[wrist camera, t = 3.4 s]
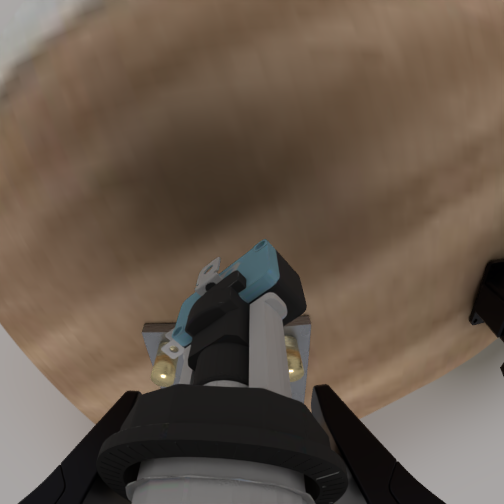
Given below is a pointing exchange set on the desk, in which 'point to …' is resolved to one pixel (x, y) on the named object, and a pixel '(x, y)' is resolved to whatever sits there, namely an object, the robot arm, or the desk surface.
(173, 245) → the desk surface
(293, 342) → the chassis
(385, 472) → the robot arm
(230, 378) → the push button
